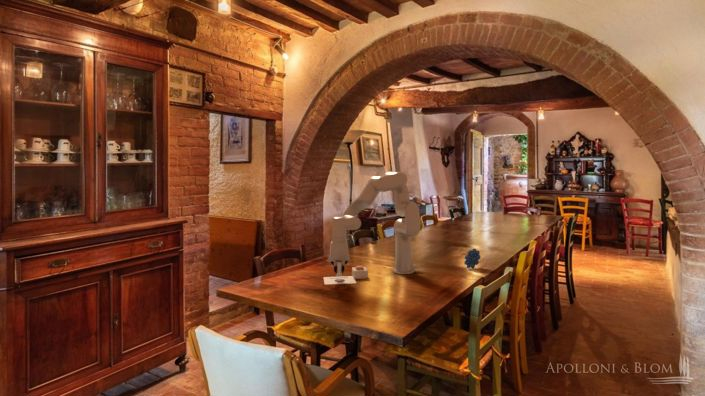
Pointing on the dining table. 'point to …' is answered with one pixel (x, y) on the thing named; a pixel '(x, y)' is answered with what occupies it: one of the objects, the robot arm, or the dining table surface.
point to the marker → (339, 268)
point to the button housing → (359, 273)
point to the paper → (339, 280)
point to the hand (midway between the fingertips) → (339, 272)
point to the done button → (359, 267)
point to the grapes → (472, 258)
